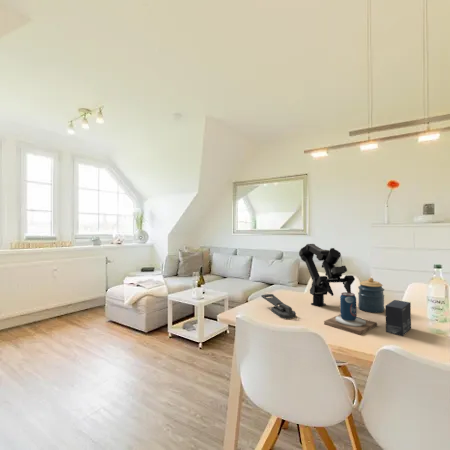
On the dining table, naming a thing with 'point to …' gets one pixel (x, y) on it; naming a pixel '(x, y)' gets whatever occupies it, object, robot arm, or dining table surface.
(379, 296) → the canister
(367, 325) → the rosette board
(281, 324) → the dining table surface
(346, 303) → the soda can
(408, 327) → the small box
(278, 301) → the zipper pull
